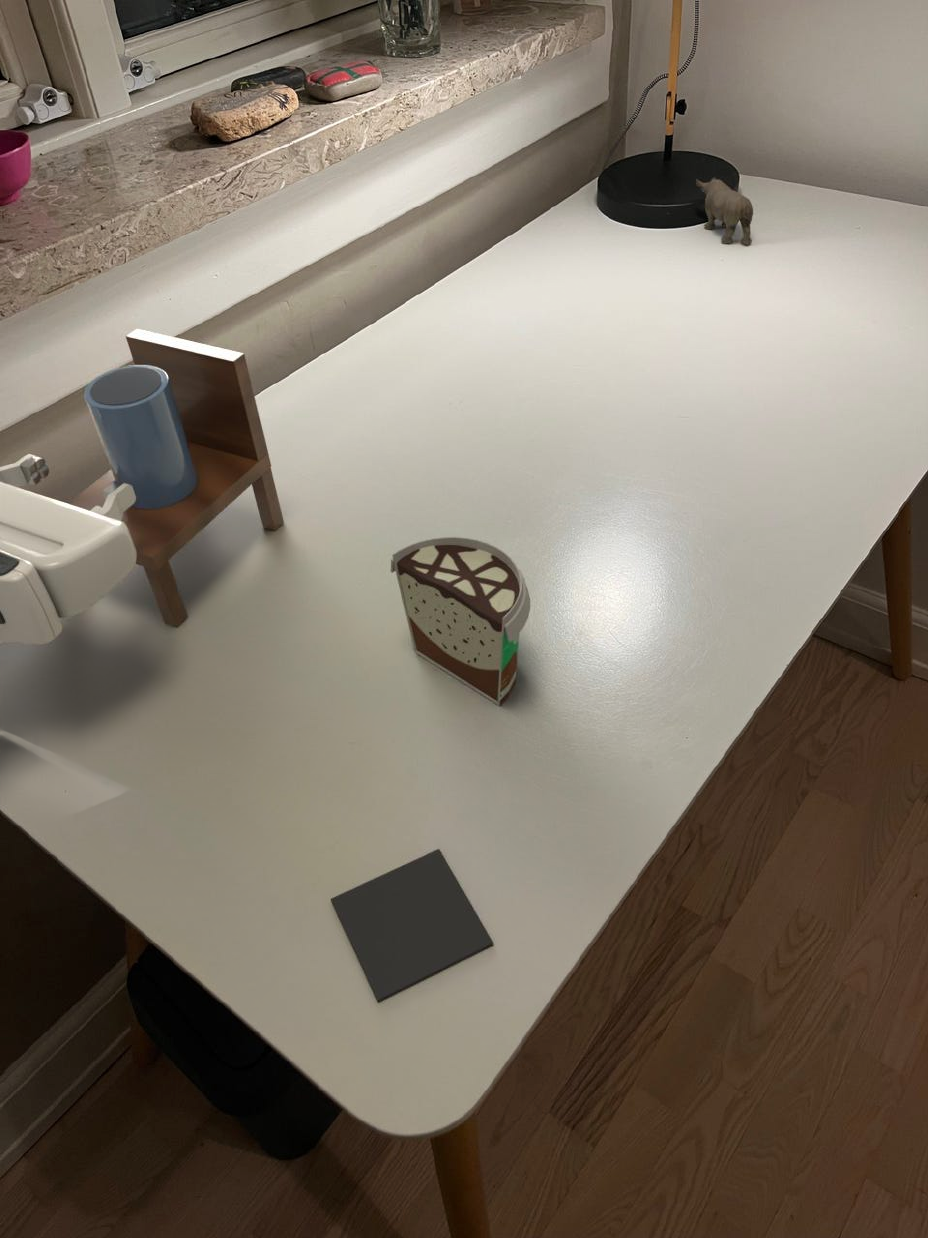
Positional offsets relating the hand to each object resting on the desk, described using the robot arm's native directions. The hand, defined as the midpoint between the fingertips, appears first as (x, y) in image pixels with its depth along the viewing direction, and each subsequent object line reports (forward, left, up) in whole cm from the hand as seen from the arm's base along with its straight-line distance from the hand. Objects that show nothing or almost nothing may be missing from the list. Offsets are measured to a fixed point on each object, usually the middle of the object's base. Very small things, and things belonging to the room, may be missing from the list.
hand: (83, 475), depth 83 cm
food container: (+24, -22, -14) cm, 35 cm away
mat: (+9, -41, -13) cm, 44 cm away
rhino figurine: (+89, +34, -14) cm, 96 cm away
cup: (+6, +4, -5) cm, 9 cm away
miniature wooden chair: (+6, +4, -13) cm, 15 cm away
